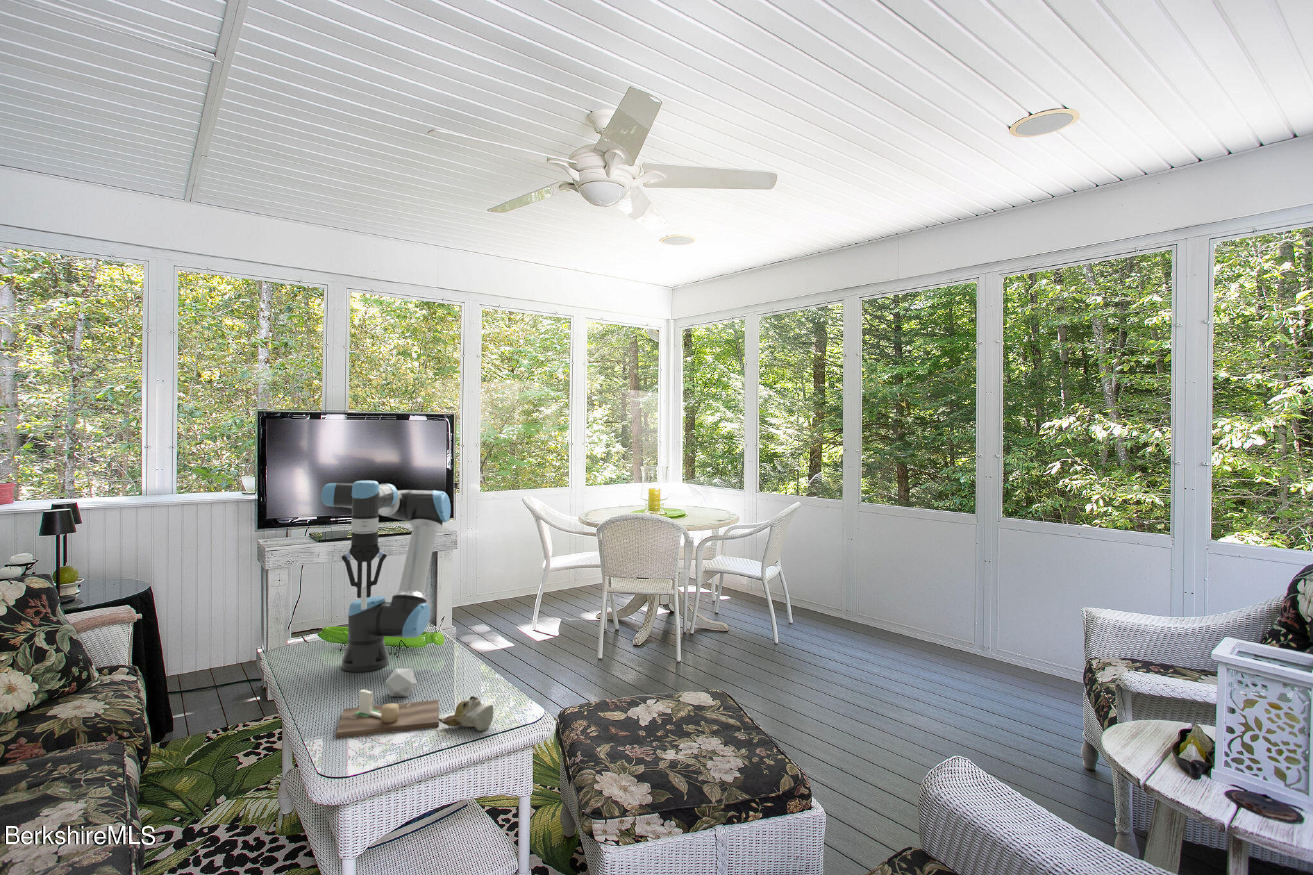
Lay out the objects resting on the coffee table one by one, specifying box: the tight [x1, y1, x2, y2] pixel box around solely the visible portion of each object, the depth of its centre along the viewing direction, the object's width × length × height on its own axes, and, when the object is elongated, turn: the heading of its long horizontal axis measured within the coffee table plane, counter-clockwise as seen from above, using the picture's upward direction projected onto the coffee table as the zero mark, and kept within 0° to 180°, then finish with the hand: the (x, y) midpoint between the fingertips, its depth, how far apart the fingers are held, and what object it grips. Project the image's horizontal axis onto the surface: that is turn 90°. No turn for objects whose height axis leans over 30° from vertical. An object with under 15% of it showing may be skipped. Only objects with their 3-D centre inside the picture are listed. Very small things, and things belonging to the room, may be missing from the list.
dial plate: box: [335, 699, 440, 739], centre depth 188 cm, size 16×26×2 cm, turn 109°
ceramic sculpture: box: [438, 695, 494, 732], centre depth 186 cm, size 11×9×15 cm
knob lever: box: [358, 688, 399, 723], centre depth 186 cm, size 14×4×6 cm, turn 64°
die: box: [384, 668, 418, 698], centre depth 206 cm, size 8×9×10 cm
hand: (363, 608), depth 202 cm, fingers closed
